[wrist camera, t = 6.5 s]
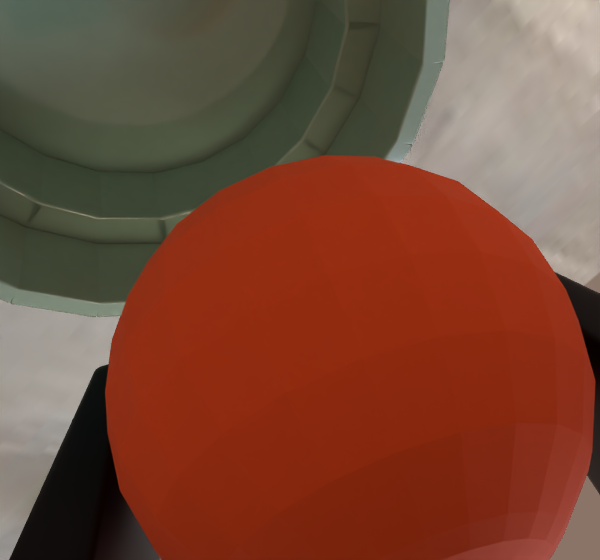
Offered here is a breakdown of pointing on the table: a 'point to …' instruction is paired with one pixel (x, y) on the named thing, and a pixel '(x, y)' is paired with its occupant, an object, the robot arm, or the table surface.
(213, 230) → the clementine
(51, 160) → the bowl
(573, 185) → the table surface
